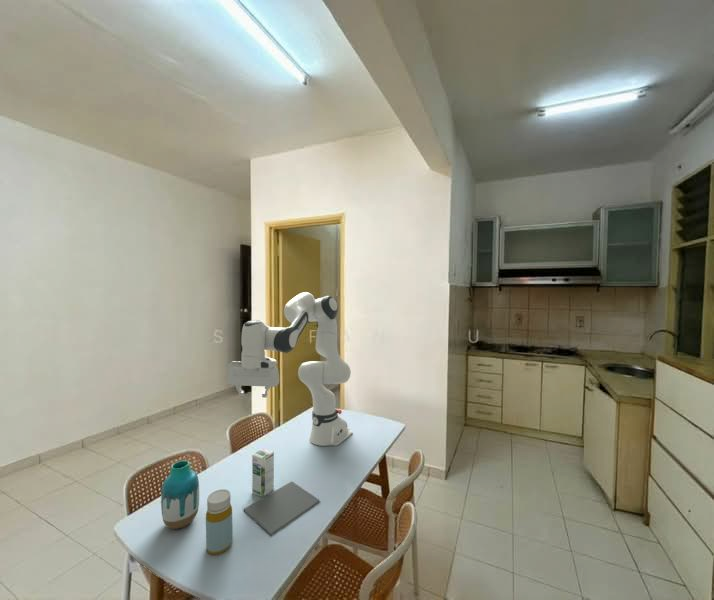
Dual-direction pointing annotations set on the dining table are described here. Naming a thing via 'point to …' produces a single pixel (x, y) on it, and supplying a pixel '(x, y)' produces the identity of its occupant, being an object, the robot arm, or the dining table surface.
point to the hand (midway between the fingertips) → (253, 396)
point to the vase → (180, 495)
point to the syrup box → (262, 472)
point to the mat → (281, 507)
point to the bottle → (218, 522)
